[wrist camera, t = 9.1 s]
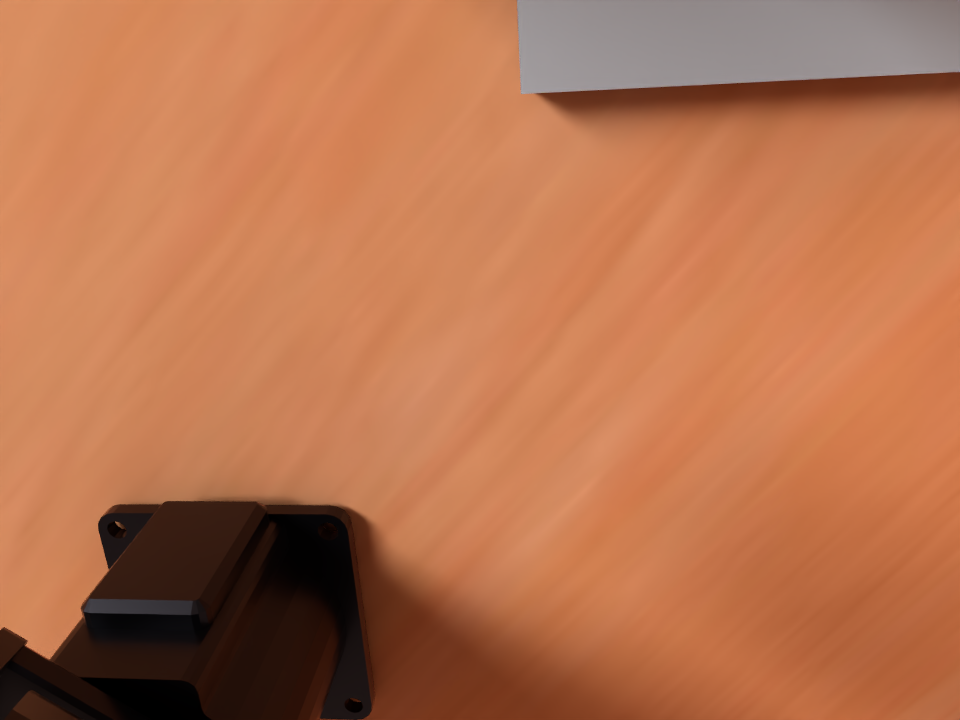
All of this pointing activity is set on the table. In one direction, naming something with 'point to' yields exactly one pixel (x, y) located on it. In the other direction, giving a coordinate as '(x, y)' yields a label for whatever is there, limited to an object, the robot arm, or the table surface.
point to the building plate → (729, 41)
